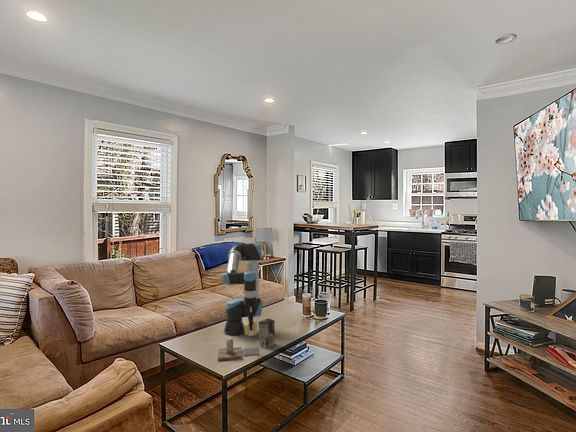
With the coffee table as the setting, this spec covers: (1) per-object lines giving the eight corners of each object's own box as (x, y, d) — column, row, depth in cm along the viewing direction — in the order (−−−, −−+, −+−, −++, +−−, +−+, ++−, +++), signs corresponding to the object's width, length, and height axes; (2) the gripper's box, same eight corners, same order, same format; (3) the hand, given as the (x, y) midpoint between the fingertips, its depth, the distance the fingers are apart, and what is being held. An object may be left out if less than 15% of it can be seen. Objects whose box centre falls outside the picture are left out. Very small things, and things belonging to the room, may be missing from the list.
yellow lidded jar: (256, 330, 216) (256, 320, 216) (257, 334, 209) (257, 324, 209) (244, 331, 215) (244, 320, 215) (244, 335, 208) (244, 324, 207)
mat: (243, 349, 217) (243, 348, 217) (257, 348, 218) (257, 347, 218) (244, 356, 207) (244, 355, 207) (258, 354, 208) (258, 353, 208)
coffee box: (268, 341, 229) (267, 318, 228) (275, 344, 225) (274, 320, 224) (258, 346, 222) (258, 321, 221) (265, 348, 217) (265, 323, 217)
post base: (218, 351, 214) (218, 336, 214) (241, 349, 216) (240, 334, 216) (217, 361, 200) (217, 345, 200) (241, 359, 203) (241, 343, 202)
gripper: (243, 293, 221) (244, 327, 221) (244, 301, 201) (245, 339, 201) (255, 292, 222) (255, 327, 223) (257, 300, 202) (257, 338, 202)
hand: (250, 332), depth 212 cm, fingers closed on yellow lidded jar, 7 cm apart
